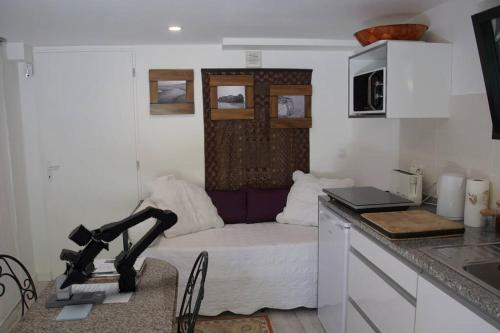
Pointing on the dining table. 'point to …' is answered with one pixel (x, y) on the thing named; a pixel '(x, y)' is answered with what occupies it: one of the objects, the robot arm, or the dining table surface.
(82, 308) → the tile
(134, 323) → the dining table surface
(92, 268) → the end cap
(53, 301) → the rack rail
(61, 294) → the block
